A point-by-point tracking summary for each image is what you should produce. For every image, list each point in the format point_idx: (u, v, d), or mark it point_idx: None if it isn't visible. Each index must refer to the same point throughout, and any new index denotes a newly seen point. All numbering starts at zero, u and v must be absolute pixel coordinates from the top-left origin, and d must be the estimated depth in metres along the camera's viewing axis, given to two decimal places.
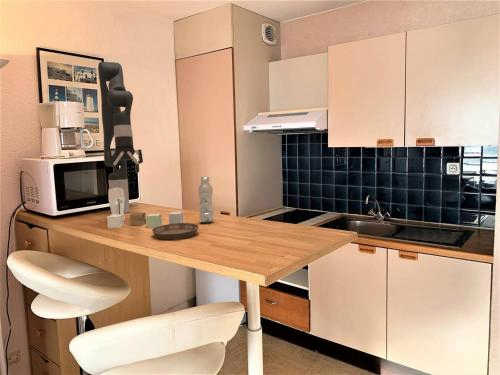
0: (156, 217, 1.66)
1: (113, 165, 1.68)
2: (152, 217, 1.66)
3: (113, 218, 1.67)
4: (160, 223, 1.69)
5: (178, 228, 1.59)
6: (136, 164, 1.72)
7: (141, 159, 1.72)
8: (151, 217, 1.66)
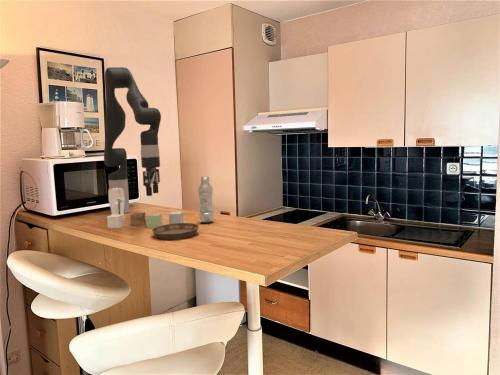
0: (156, 217, 1.66)
1: (149, 186, 1.61)
2: (152, 217, 1.66)
3: (113, 218, 1.67)
4: (160, 223, 1.69)
5: (178, 228, 1.59)
6: (156, 184, 1.71)
7: (159, 179, 1.73)
8: (151, 217, 1.66)
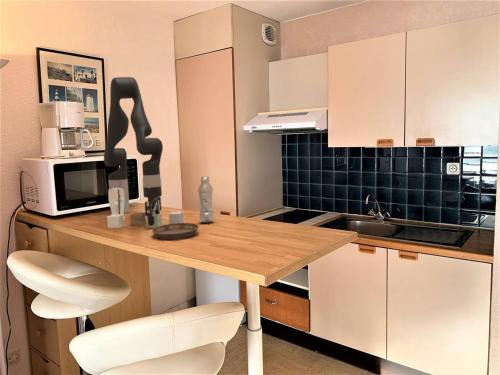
0: (156, 217, 1.66)
1: (151, 216, 1.63)
2: None
3: (113, 218, 1.67)
4: (160, 223, 1.69)
5: (178, 228, 1.59)
6: (158, 212, 1.72)
7: (160, 207, 1.74)
8: None
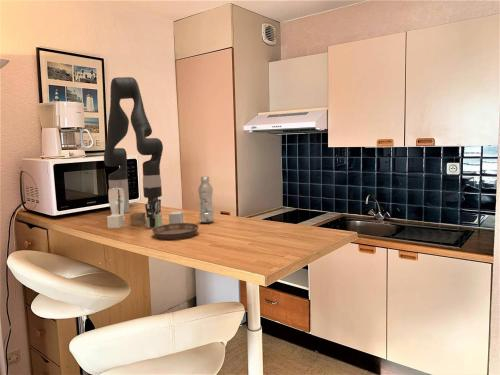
0: (156, 217, 1.66)
1: (153, 218, 1.65)
2: None
3: (113, 218, 1.67)
4: (160, 223, 1.69)
5: (178, 228, 1.59)
6: None
7: (160, 209, 1.73)
8: None
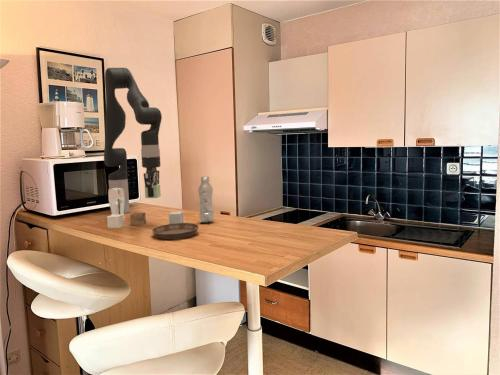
0: (155, 187, 1.64)
1: (151, 188, 1.63)
2: None
3: (113, 218, 1.67)
4: (159, 194, 1.67)
5: (178, 228, 1.59)
6: None
7: (158, 180, 1.72)
8: None
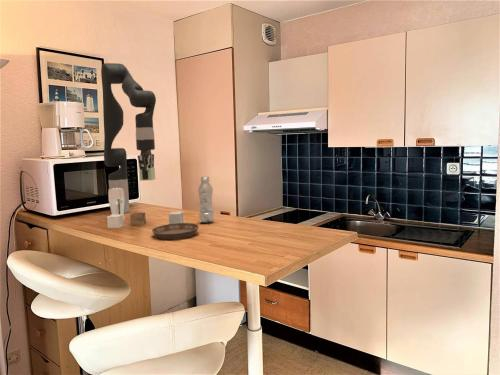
0: (149, 169, 1.65)
1: (146, 170, 1.64)
2: None
3: (113, 218, 1.67)
4: (153, 176, 1.69)
5: (178, 228, 1.59)
6: None
7: (153, 164, 1.73)
8: None
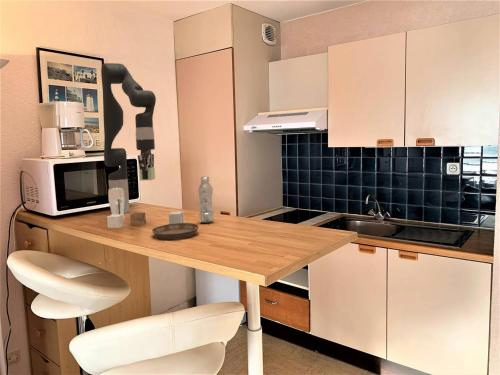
0: (149, 169, 1.65)
1: (145, 170, 1.64)
2: None
3: (113, 218, 1.67)
4: (153, 176, 1.69)
5: (178, 228, 1.59)
6: None
7: (153, 164, 1.73)
8: None
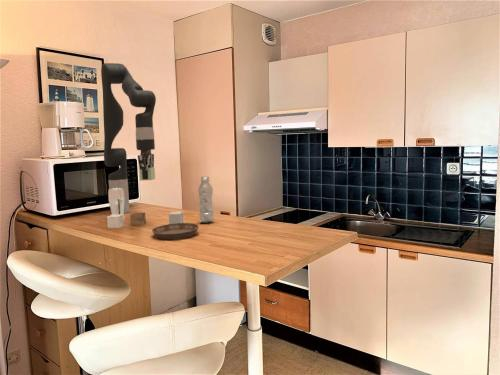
0: (149, 169, 1.65)
1: (145, 170, 1.64)
2: None
3: (113, 218, 1.67)
4: (153, 176, 1.69)
5: (178, 228, 1.59)
6: None
7: (153, 164, 1.73)
8: None
